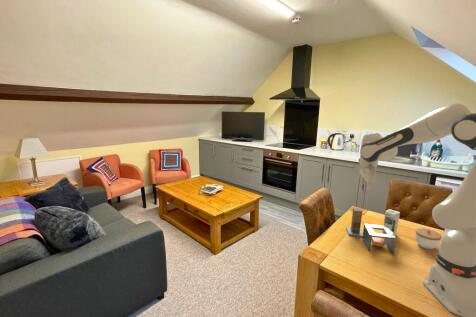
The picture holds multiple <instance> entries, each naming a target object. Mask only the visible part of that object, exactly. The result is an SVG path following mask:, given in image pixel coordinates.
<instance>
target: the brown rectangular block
mask: <svg viewBox="0 0 476 317" xmlns="http://www.w3.org/2000/svg"><path fill="white" fill-rule="evenodd" d="M362 216H363V210H362V209H361V208H360V207H352V216H351V225H350V228H351V231H352V233H359V234H360V229H361V225H362V218H363V217H362Z"/></svg>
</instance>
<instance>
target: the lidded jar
mask: <svg viewBox="0 0 476 317" xmlns="http://www.w3.org/2000/svg"><path fill="white" fill-rule="evenodd" d="M414 238H415V241H416V242H417V244H418V245H419V247H421V248H422V249H426V250H433V249H435V248H437V247H438V246H439V245H440V244H441V240H442V235H441V234H440V233H439V232H437V231H436V230H433V229H430V228H425V227H417V228H416V229H415V236H414Z"/></svg>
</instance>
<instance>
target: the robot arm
mask: <svg viewBox="0 0 476 317" xmlns="http://www.w3.org/2000/svg"><path fill="white" fill-rule="evenodd" d="M451 135H452V137H453V139H455V140H456V141H457V142H459V143H460V144H463V145H464V146H466V147H468V148H469V149H470V150H473V151H476V113H473V112H472V111H471V110H470V109H469V108H468V107H467V106H465V105H464V104H461V103H456V102H455V103H451V104H448V105H445V106H443V107H440V108H438V109H435V110H433V111H431V112H429V113H427V114H426V115H424V116H422V117H420V118H419V119H417V120H415V121H414V122H411V123H410V124H408V125H406V126H404V127H402V128H400V129H399V130H398V129H397V130H396V131H394V132H393V133H390V134H388V135H385V136H384V137H383V136H382V135H381V133H378V132H371V133H365V134H364V135H363V136H362V138H361V139H362V140H361V143H360V144H361V145H360V153H359V154H360V156H359V158H358V166H359V167H358V172H359V175H361V184H363V185H366V186H365V188H366V190H369V191H370V190H371V187H372V185H374V184H376V182H377V169H376V168H377V167H378V165H379V161H388V160H392V159H395V158H396V157H397V156H398V154H399V147H401V146H407V145H414V144H425V143H426V144H427V143H431V142H434V141H437V140H440V139H441V140H442V139H443V138H446V137H447V136H451ZM431 216H432V219H433V221H434V222H435V224H436V225H437V226H439V227H440V228H442V229H445V230H447V231H445V232H444V233H443V235H441V240H440V244H439V245H440V246H439V250H437V253H436V255H435V262H434V263H433V264H432V265H431V267H430V268H429V272H428V274H427V278H426V279H424V280H423V281H422V284H423V285H424V286H425V287H426V288H427V289H428V291H429V292H430V293H432V295H433V296H434V297H435V298H436V299H437V300H438V301H439V303H441V305H442V306H444V307H445V308H446V309H447V311H449V312H450V313H453V314H454V315H456V316H459V317H476V159H475V160H474V162H473V164H472V165H471V167H470V169H469V171H468V172H467V174H466V175H465V177H464V178H463V180H462V181H461V182H460V184H459V186H457V188H455V189H454V190H453V191H452V193H450V194H449V195H448V196H447V197H446V198H445V199H444V200H443V201H441V202H440V203H438V204H436V205H435V206H434V207H432V210H431Z"/></svg>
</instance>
